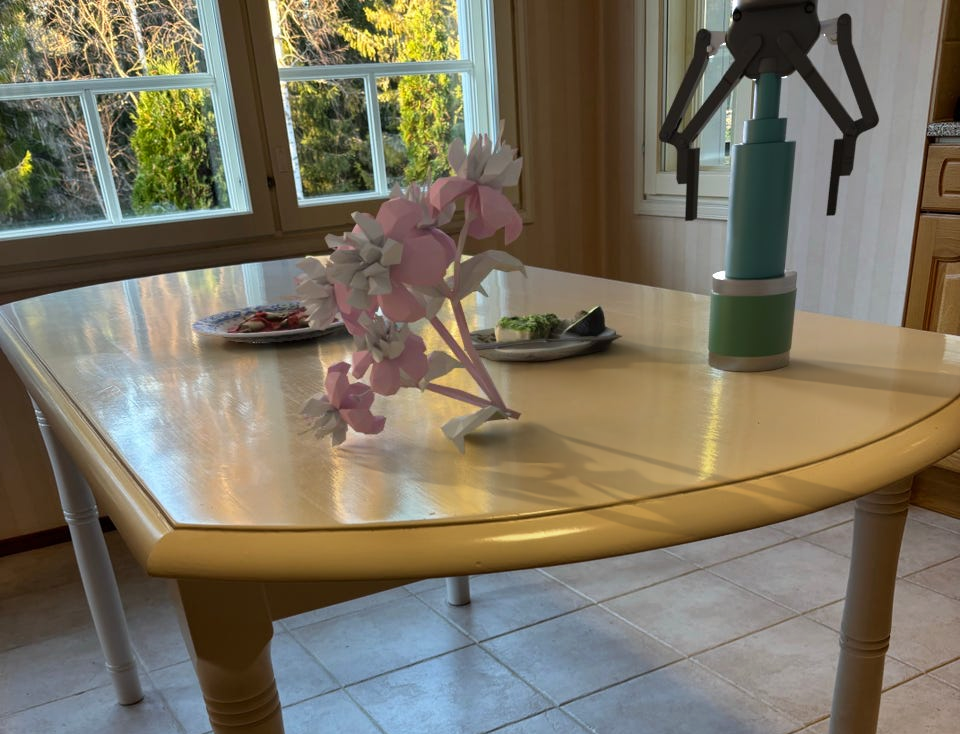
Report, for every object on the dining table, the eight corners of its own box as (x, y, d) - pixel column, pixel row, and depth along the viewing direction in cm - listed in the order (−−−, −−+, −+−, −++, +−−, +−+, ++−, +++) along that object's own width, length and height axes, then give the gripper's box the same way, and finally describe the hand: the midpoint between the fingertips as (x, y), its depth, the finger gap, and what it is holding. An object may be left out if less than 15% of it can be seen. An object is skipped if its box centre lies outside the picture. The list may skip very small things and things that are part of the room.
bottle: (787, 269, 97) (806, 55, 88) (781, 278, 92) (801, 53, 83) (728, 270, 99) (741, 61, 90) (720, 278, 94) (732, 59, 85)
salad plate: (499, 376, 102) (497, 332, 100) (428, 351, 116) (425, 313, 113) (641, 348, 109) (642, 307, 107) (558, 328, 123) (557, 292, 121)
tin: (793, 354, 102) (801, 267, 98) (785, 372, 95) (794, 280, 91) (713, 353, 105) (718, 268, 101) (701, 371, 98) (705, 281, 94)
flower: (418, 374, 98) (298, 142, 81) (609, 366, 86) (515, 90, 68) (322, 509, 89) (164, 280, 72) (520, 522, 77) (387, 249, 59)
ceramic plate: (363, 344, 123) (360, 320, 121) (171, 356, 124) (166, 333, 122) (381, 310, 145) (379, 290, 144) (219, 321, 146) (215, 301, 145)
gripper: (631, -29, 84) (628, 225, 94) (932, -69, 76) (893, 215, 86) (648, -21, 90) (644, 217, 100) (929, -57, 82) (893, 208, 92)
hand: (759, 217), depth 93 cm, fingers open, 13 cm apart
